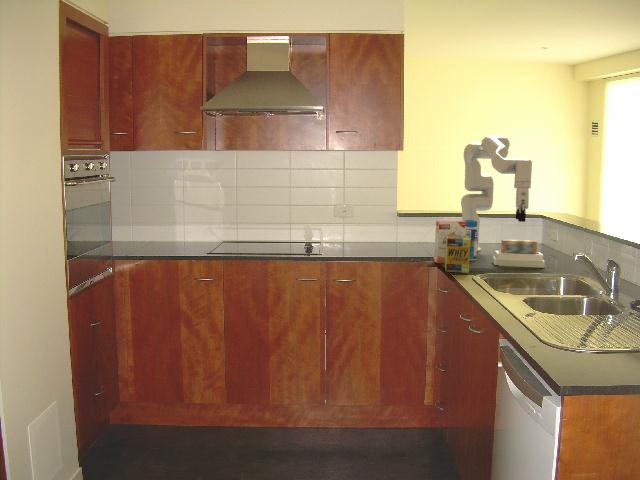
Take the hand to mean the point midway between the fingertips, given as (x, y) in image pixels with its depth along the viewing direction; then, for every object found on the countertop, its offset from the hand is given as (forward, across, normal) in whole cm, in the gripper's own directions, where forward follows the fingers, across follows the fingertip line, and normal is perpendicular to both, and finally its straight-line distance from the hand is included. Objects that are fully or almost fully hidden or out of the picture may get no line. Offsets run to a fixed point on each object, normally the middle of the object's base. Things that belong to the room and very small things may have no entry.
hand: (520, 220), depth 294 cm
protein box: (+22, -20, +30) cm, 42 cm away
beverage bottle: (+22, +10, +23) cm, 33 cm away
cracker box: (+22, -2, +33) cm, 40 cm away
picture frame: (+19, 0, 0) cm, 19 cm away
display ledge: (+22, 0, 0) cm, 22 cm away
